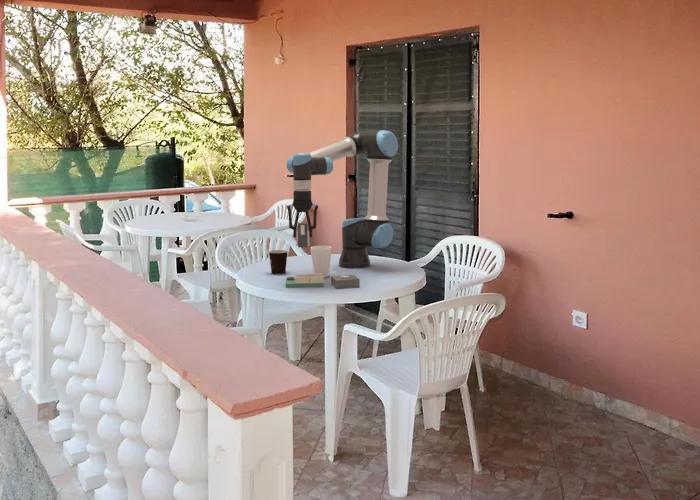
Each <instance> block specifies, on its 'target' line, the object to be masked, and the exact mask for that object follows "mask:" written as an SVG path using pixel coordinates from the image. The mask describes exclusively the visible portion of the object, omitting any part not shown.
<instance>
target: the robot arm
mask: <svg viewBox="0 0 700 500" xmlns="http://www.w3.org/2000/svg"><path fill="white" fill-rule="evenodd" d="M398 150H399V142H398V138H397V137H396V135H395V134H394V133H393V132H392V131H390V130H384V129H382V130H381V129H380V130H367V129H366V130H361V131H358V132H356V133H352V134H350V135H347V136H344V137H343V138H342V139H341V140H340V141H337V142H334V143H331V144H329V145H327V146H324V147H321V148H318V149H316V150H313V151H309V152H308V153H306V152H297V153H294V154H293V155H292V156H290V157H288V159H287V160H286V169H287V171H288V172H289V173H290V174H293V175H292V176H293V177H292V178H293V180H292V181H293V182H292V183H293V184H292V187H293V194H292V195H293V202H292V203H291V204H288V205H286V209H287V211H288V228H289V229H291V230H293V237H294V238H296V241H295V244H296V246H297V247H298V223H299V218H300V213H305V215H306V216H305V217H306V221H307V222H306V223H307V227H308V229H307V241H308V247H309V246H310V238H312V237H313V230H315V229H316V228H317V214H318V212H317V211H318V209H319V205H318V204H314V203H313V201H312V191H311V189H312V176H326V175H330V174H331V173H332V172H333V170H334V162H336V161H339V160H341V159H343V158H346V157H349V158H353V157H355V156H366V160H367V161H368V163H369V179H368V195H367V196H368V197H367V215H365V216H364V217H354V218H348V219H343V221H342V226H341V238H342V241H341V242H342V244H341V246H342V250H341V253H340V257H339V260H338V266H339V267H341V268H344V269H364V268H368V267H371V260H370V256H369V253H368V250H367V247H369V248H370V247H371V248H374V249H383V248H386V247H388V246H389V244H391V242H392V240H393V238H394V228H393V227H392V225H391V224H390V223H389V221H390V220H389V218H388V216H387V199H388V182H389V181H388V179H389V164H390V163H391V162H392V161H393V157H394V156H395V155H396V154H397V152H398ZM293 208H294V210H295V211H296V214H295V219H294V225H293V214H292V210H293ZM311 208H312V210H313V219H312V220H313V225H312V222H311V217H310V213H309V211H310V209H311ZM296 246H295V247H296Z"/></svg>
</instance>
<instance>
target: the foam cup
mask: <svg viewBox="0 0 700 500" xmlns="http://www.w3.org/2000/svg"><path fill="white" fill-rule="evenodd" d="M332 252H333V249H332V246H330V245H329V246H328V245H314V246H311V247H310V254H311V260H312V269H313V274H323V277H324V278H326V277H329V275H330V267H331V257H332Z"/></svg>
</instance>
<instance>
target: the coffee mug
mask: <svg viewBox="0 0 700 500" xmlns="http://www.w3.org/2000/svg"><path fill="white" fill-rule="evenodd" d="M268 255H269V257H268V258H269V264H270V270H271V274H272V275H285V274H286V270H287V262H288V261H287V260H288V250H284V249H274V250H273V249H272V250H269V251H268Z"/></svg>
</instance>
